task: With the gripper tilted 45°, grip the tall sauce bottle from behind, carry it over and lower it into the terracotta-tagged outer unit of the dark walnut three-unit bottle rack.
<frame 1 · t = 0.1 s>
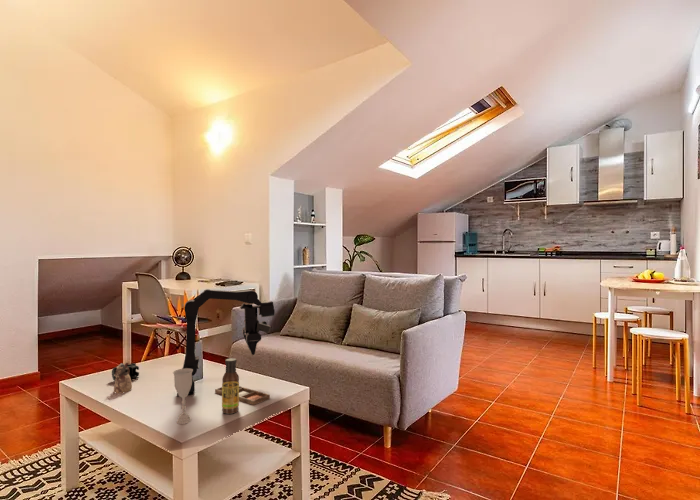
hand: (251, 352, 191), 15 cm above the table, tool pointing down, fingers open, 9 cm apart
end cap: (126, 380, 202), on the table
chalice: (184, 421, 153), on the table
rack: (241, 395, 178), on the table
sauce bottle: (230, 412, 161), on the table
figurine: (122, 391, 187), on the table
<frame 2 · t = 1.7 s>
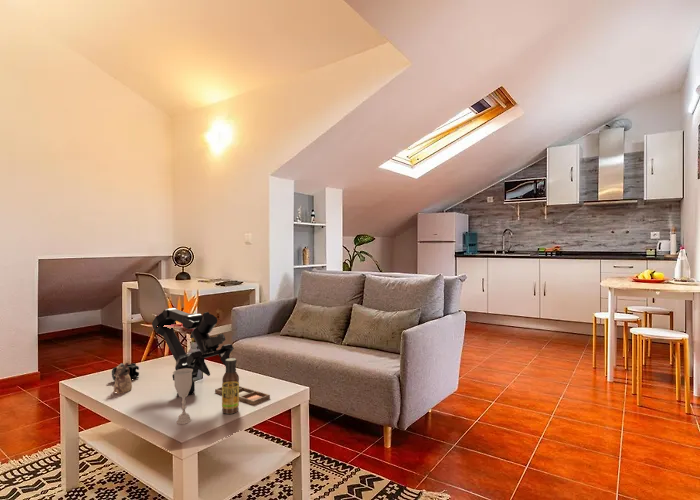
hand: (219, 372, 166), 13 cm above the table, tool tilted 45°, fingers open, 9 cm apart
nothing on the table moved.
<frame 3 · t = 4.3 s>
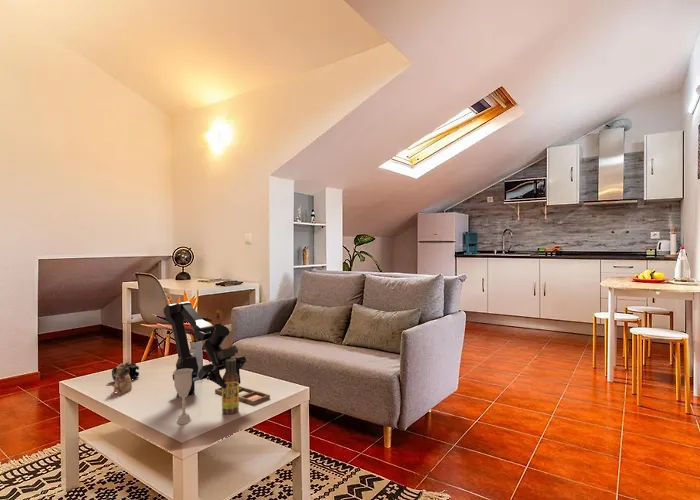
hand: (232, 385, 160), 10 cm above the table, tool tilted 45°, fingers closed on sauce bottle, 6 cm apart
sauce bottle: (230, 412, 161), on the table, touching gripper
everything else where it was.
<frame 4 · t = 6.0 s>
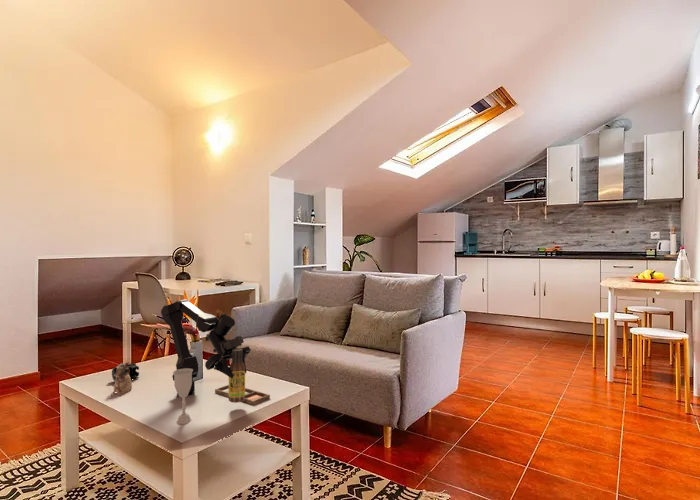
hand: (239, 375, 162), 13 cm above the table, tool tilted 45°, fingers closed on sauce bottle, 6 cm apart
sauce bottle: (237, 401, 163), point 3 cm above the table, touching gripper
everything else where it was.
when the fingers open (11 cm above the table, at t = 7.8 s): sauce bottle stays where it is, resting on rack.
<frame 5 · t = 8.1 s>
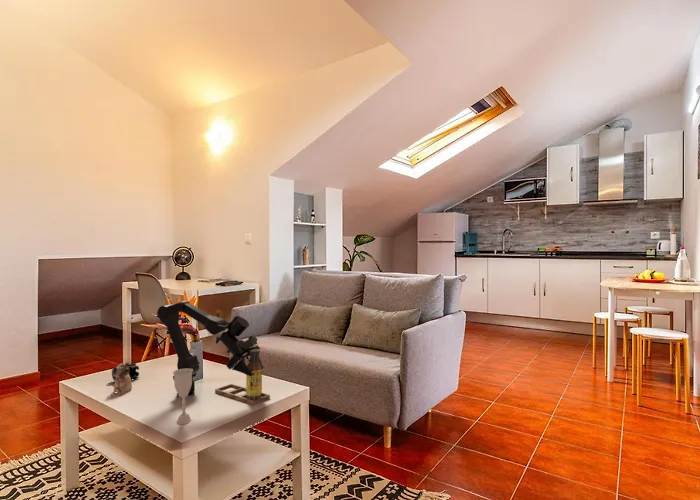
hand: (257, 372, 172), 11 cm above the table, tool tilted 45°, fingers open, 9 cm apart
sauce bottle: (254, 399, 173), resting on rack
everything else where it was.
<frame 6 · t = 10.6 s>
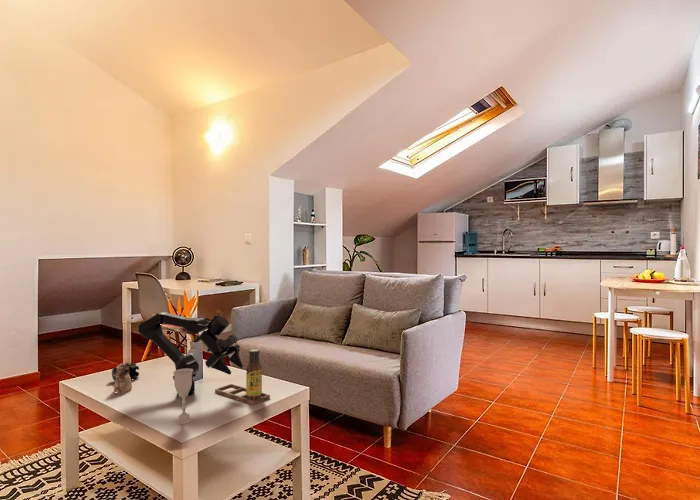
hand: (236, 370, 175), 11 cm above the table, tool tilted 45°, fingers open, 9 cm apart
nothing on the table moved.
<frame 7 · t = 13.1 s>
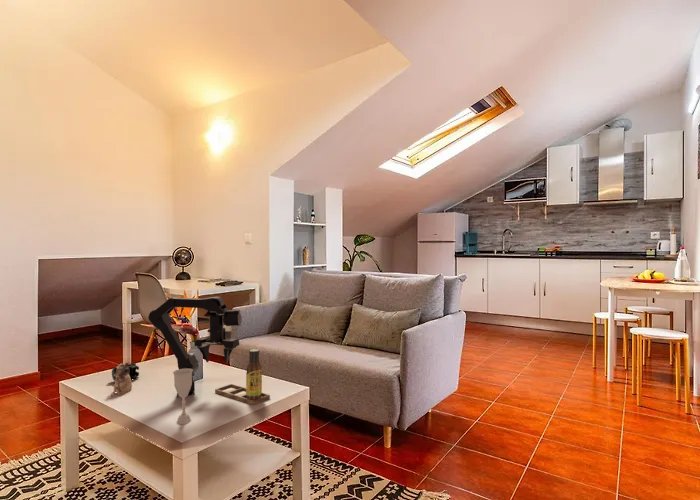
hand: (217, 362, 181), 13 cm above the table, tool pointing down, fingers open, 9 cm apart
nothing on the table moved.
at the end: sauce bottle 0.2 cm from the target spot on the rack, point 0.1 cm above the rack's base; sauce bottle tilted 0°; the gripper is holding nothing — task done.
